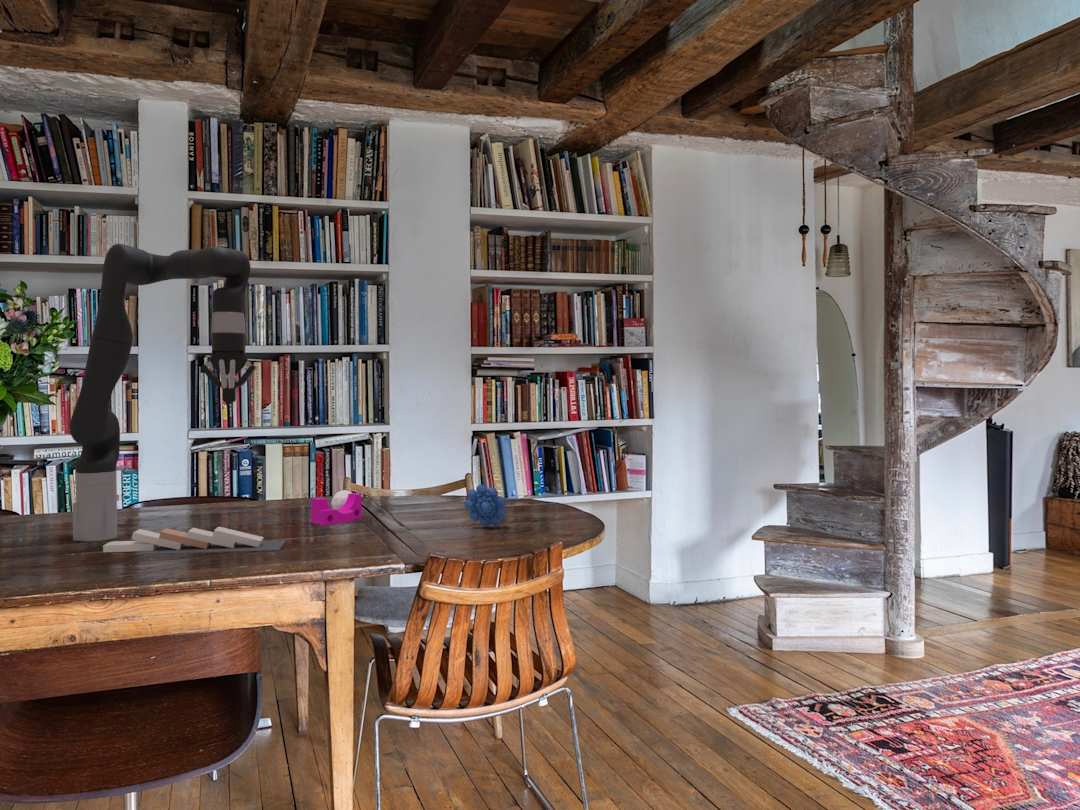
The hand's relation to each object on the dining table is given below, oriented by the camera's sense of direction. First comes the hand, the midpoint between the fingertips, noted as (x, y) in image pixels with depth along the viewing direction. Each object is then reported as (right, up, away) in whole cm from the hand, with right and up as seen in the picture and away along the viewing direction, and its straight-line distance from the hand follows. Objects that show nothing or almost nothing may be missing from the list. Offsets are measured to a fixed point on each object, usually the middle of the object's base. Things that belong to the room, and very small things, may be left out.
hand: (229, 404), depth 197 cm
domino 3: (-5, -34, +1) cm, 34 cm away
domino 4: (+1, -34, +2) cm, 34 cm away
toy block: (+17, -35, +41) cm, 56 cm away
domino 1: (-17, -34, -1) cm, 38 cm away
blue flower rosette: (+60, -35, +30) cm, 75 cm away
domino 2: (-11, -34, 0) cm, 36 cm away
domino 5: (+7, -34, +3) cm, 35 cm away
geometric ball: (+16, -34, +50) cm, 63 cm away
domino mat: (-4, -35, +1) cm, 35 cm away
